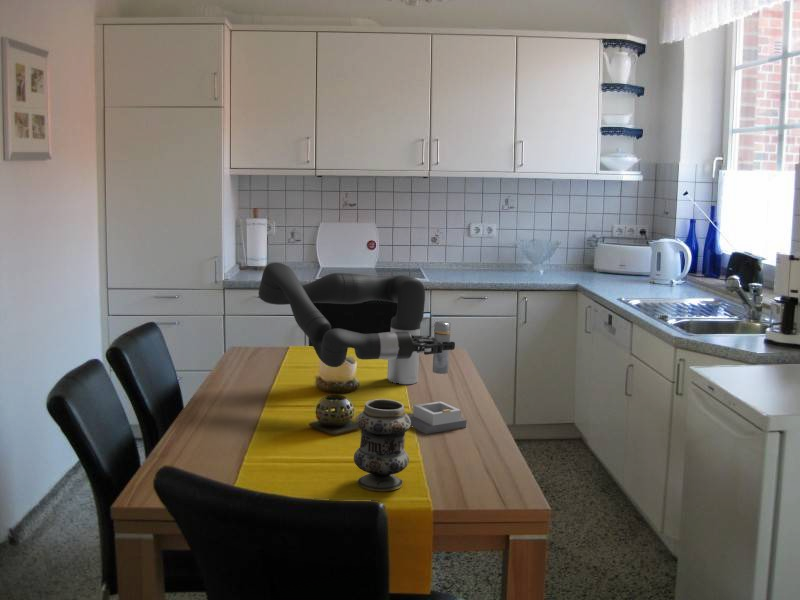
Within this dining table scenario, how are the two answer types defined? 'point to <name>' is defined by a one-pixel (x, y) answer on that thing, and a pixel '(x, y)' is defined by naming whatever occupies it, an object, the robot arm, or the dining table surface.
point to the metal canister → (442, 359)
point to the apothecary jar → (382, 444)
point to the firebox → (436, 417)
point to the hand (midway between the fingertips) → (450, 343)
